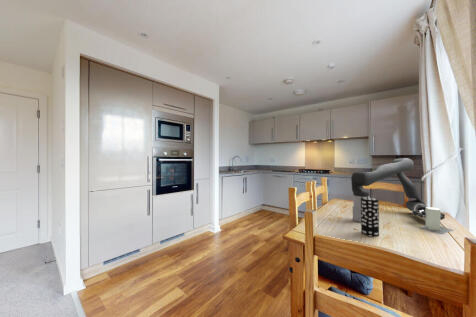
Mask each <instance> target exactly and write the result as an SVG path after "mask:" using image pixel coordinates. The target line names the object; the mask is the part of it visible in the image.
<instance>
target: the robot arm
mask: <svg viewBox="0 0 476 317" xmlns="http://www.w3.org/2000/svg"><path fill="white" fill-rule="evenodd" d="M414 166H415V165H414V161H413V160H412V159H411V158H408V157H407V158H406V157H404V158H395V159H393V160H392V162H391V163H385V164H384V163H383V164H381V165H378V166H375V168H374V169H373V170H372V171H368V172H367V171H365V172H363V171H354V172H353V173H352V175H351V178H350V180H351V190H352V193H353V194H352V200H353V201H352V203H353V204H352V205H353V206H352V221H355V222H358V223H361V197H370V191H369V190H366V188H364V187H369V186H371V185H372V184H373V185H374V183H376V182H378V181H381V180H383V179H388V178H389V177H393V176H394V175H396V177H397V178H398V180H399V182H400V184H401V186H402V189H403V191H404V194H405V197H406V198H408V199H412V200H408V201H406V202H405V207H406V209H407V210H409V211H411V214H412V215H413V216H417V217H419V218H425V219H426V207H428V206H427V205H426V204H425V202H424V201H423V200H422V199H421V197H420V195H419V193H418V190H417V188H416V185H415V184H414V183H413V182H412V181H411V180H410V179H409V178H408V177H407V176H406V175H405V173H404V172H407V171H410V170H412V169H413V168H414ZM445 216H446V215H445V214H444V213H443V212H441V211H440V221H443V220H444V219H446V217H445Z"/></svg>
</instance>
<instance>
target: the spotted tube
mask: <svg viewBox="0 0 476 317" xmlns="http://www.w3.org/2000/svg"><path fill="white" fill-rule="evenodd" d="M379 202H380V201H379V198H376V197H370V196H369V197H361V222H360V227H361V228H360V229H361V230H360V233H361V234H362V235H364V236H368V237H372V238H373V237H375V238H376V237H379V236H380V216H379V215H380V209H379V208H380V207H379V204H380V203H379Z"/></svg>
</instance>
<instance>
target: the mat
mask: <svg viewBox="0 0 476 317" xmlns="http://www.w3.org/2000/svg"><path fill="white" fill-rule="evenodd" d="M419 229H421V230H424V231H428V232H431V233H436V234H439V235H443V234H446V233H450V232H452V231H454V229H451V228H447V227H443V226H441V231H437V230H429V229H428V228H427V227H426V225H425V226H421V227H419Z"/></svg>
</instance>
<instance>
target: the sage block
mask: <svg viewBox="0 0 476 317" xmlns="http://www.w3.org/2000/svg"><path fill="white" fill-rule="evenodd" d="M440 212H441V209H439V208H438V207H432V206H431V207H429V206H427V207H426V218H425V226H426V227H427V228H428V229H429V230H437V231H441V227H442V226H441V220H440Z"/></svg>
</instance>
